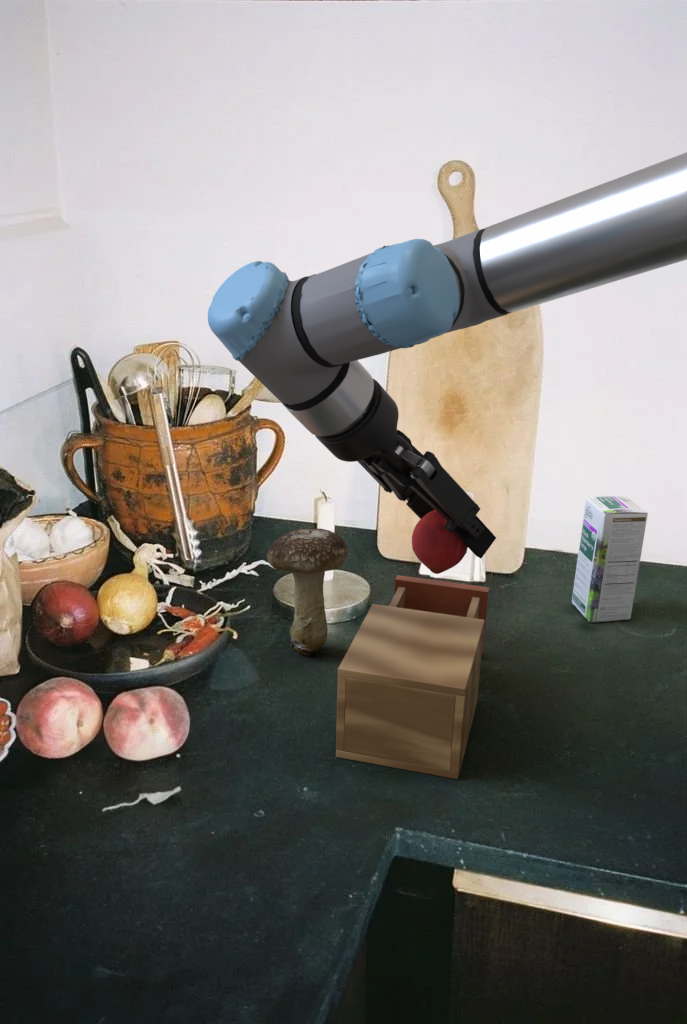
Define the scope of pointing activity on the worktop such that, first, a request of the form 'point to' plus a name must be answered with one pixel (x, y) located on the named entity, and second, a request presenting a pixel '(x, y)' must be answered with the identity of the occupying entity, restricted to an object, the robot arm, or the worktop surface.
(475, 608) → the drawer
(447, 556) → the onion
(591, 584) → the syrup box
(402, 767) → the cabinet
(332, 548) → the mushroom
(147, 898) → the worktop surface
